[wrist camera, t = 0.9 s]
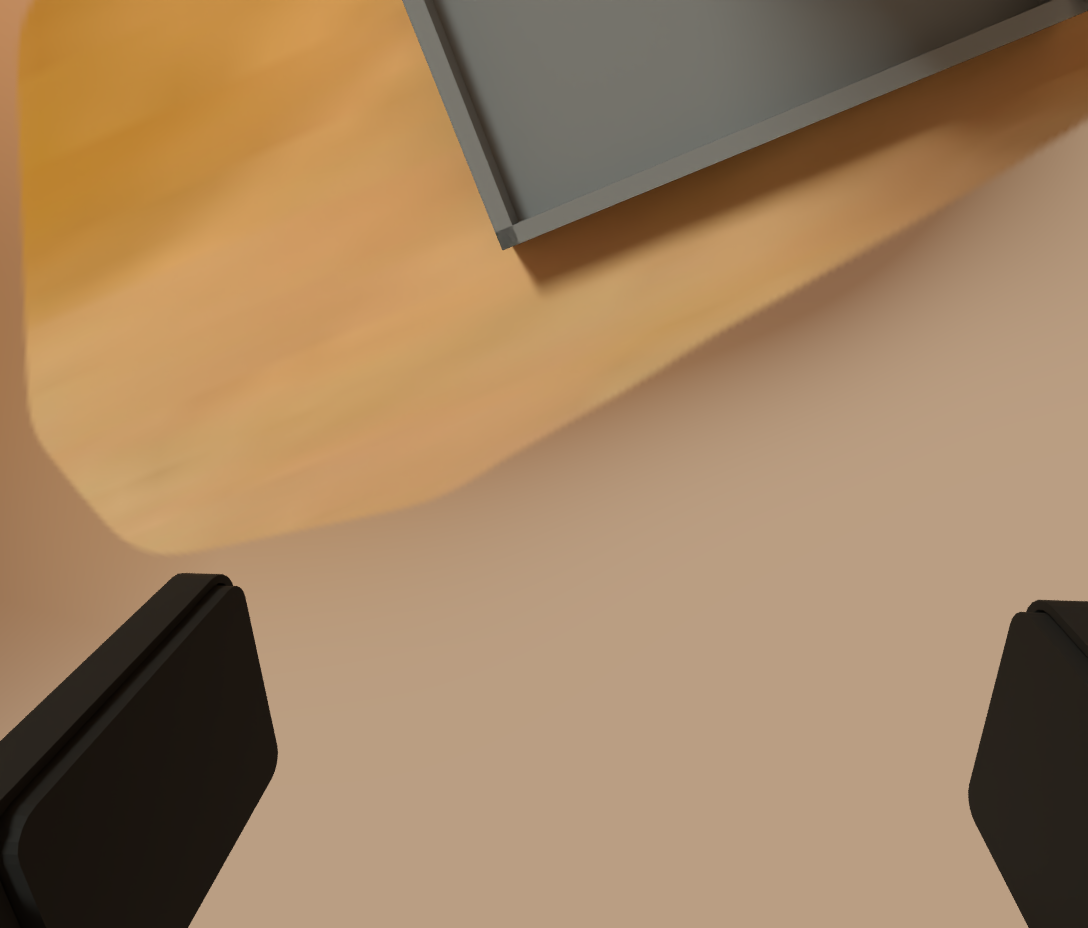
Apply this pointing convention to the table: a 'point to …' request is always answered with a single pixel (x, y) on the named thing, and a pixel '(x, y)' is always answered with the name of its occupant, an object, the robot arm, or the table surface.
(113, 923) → the robot arm
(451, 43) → the tray
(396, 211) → the table surface
